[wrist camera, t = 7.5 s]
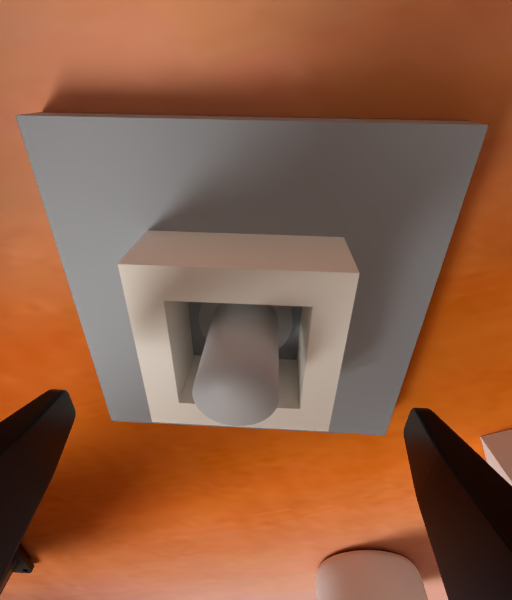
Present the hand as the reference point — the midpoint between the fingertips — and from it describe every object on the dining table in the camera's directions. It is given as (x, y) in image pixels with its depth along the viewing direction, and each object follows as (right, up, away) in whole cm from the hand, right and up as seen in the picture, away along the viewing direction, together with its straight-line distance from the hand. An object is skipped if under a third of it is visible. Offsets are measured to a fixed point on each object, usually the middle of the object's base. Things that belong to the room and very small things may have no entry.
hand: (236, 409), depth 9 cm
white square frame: (0, +2, +4) cm, 5 cm away
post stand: (0, +3, +5) cm, 6 cm away
